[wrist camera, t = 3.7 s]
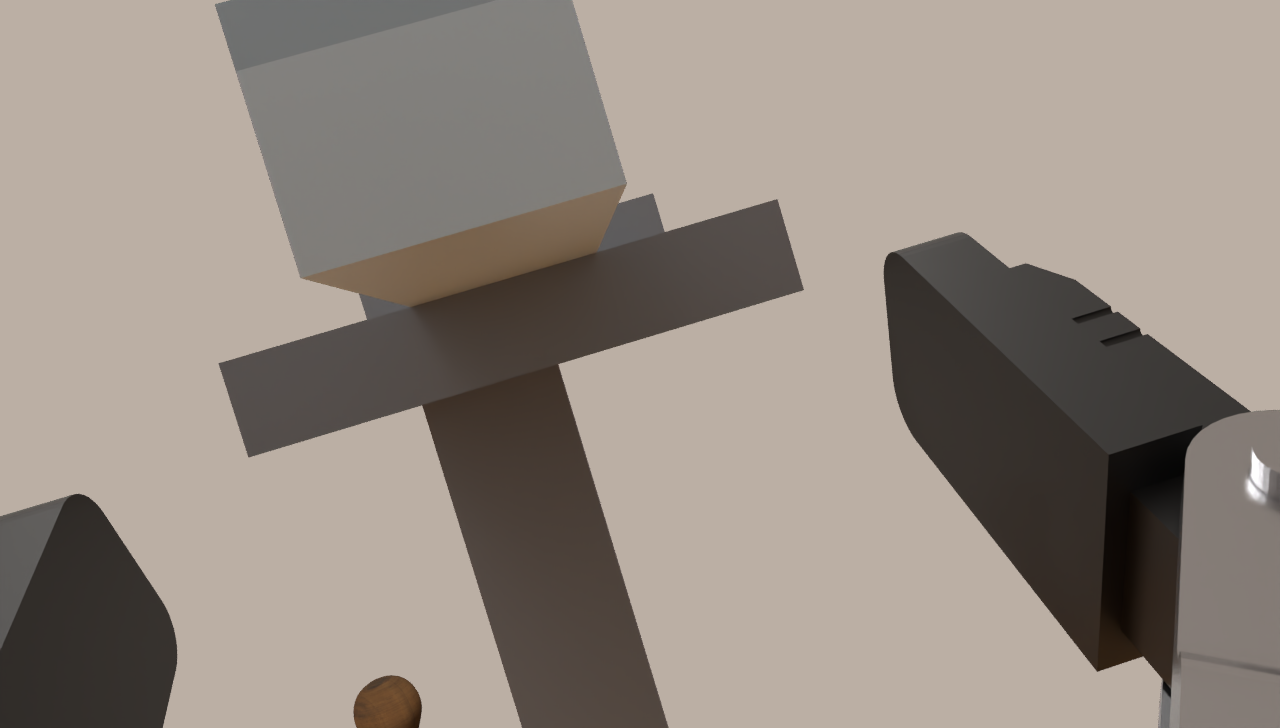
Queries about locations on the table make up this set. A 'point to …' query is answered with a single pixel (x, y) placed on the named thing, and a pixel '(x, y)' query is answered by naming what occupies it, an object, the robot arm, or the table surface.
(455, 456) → the grey gallows post
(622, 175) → the grey rectangular box
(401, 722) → the mortar and pestle
